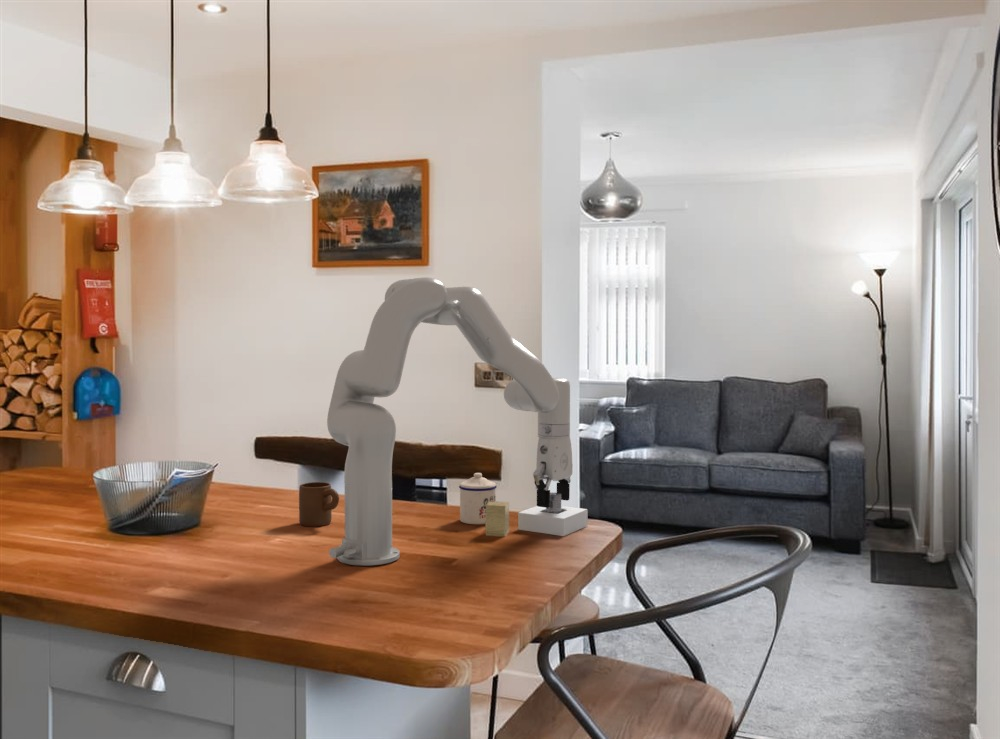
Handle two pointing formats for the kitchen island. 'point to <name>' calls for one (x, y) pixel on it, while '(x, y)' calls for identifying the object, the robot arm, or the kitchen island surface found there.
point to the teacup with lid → (476, 499)
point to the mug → (316, 503)
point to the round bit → (554, 503)
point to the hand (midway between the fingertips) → (553, 503)
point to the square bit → (497, 518)
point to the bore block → (553, 520)
